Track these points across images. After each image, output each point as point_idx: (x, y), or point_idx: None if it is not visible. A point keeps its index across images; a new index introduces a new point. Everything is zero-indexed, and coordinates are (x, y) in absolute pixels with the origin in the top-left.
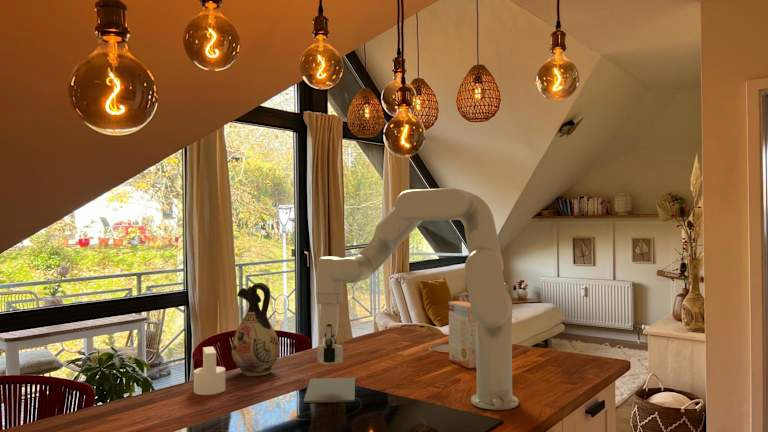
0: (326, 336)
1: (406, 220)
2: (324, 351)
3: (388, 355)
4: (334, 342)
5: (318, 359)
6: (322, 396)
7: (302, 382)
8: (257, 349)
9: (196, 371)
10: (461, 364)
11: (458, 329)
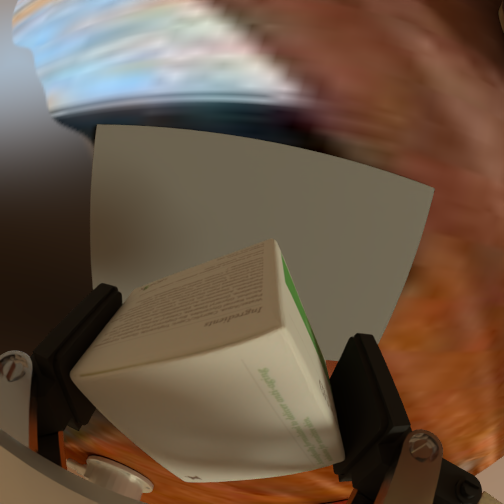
0: (382, 500)
1: None
2: (53, 337)
3: (494, 415)
4: (342, 472)
5: (251, 251)
6: (133, 204)
7: (416, 146)
8: None
9: None
10: (344, 501)
11: None
